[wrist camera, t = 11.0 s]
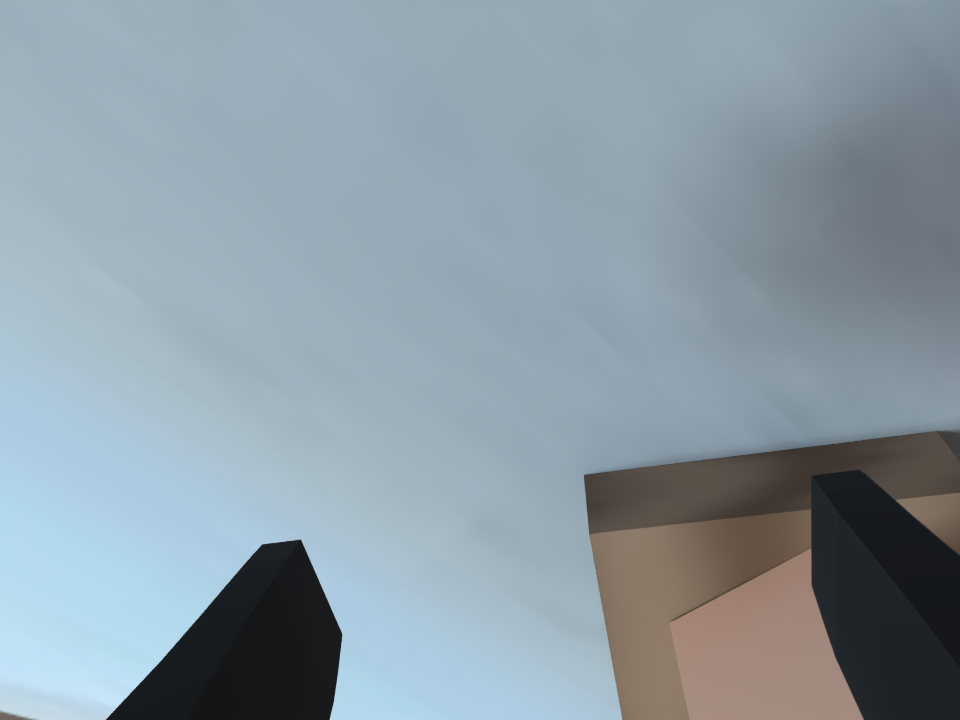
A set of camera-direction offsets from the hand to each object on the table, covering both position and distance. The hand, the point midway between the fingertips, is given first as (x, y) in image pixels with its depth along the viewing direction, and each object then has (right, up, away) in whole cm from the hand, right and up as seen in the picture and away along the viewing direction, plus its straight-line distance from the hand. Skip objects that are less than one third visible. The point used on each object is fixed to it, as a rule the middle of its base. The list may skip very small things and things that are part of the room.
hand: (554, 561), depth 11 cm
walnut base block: (+8, -4, +15) cm, 17 cm away
